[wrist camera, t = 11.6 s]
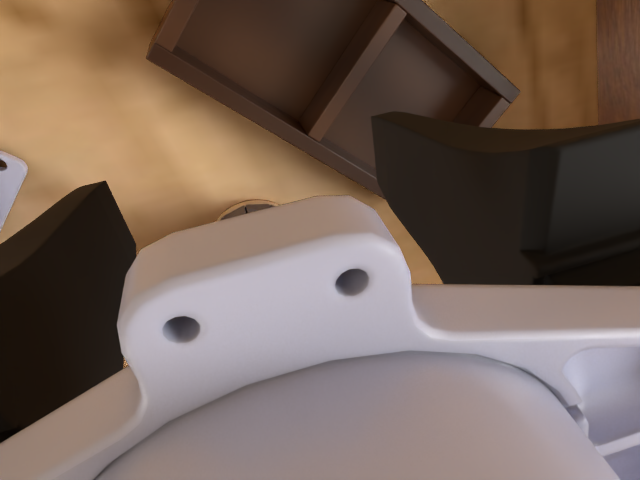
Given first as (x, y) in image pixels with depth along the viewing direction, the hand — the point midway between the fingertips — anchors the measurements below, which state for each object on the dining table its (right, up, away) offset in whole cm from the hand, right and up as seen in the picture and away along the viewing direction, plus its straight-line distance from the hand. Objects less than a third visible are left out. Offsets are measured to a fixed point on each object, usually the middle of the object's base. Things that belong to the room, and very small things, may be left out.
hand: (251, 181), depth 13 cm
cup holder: (+3, +7, +9) cm, 12 cm away
